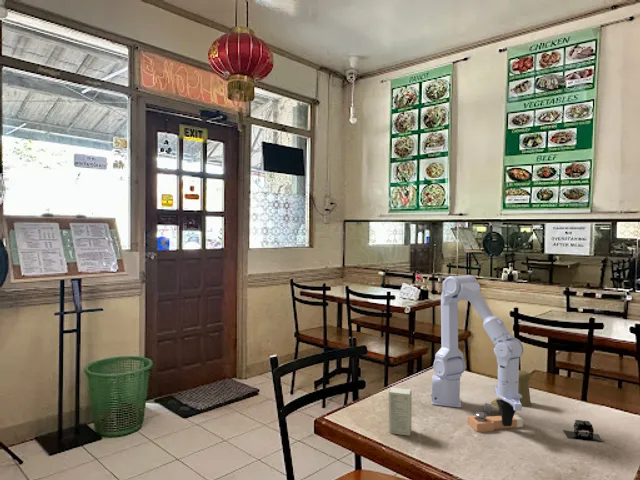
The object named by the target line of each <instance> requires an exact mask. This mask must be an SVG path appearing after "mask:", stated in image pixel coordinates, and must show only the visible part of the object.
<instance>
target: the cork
mask: <svg viewBox="0 0 640 480" xmlns="http://www.w3.org/2000/svg"><path fill="white" fill-rule="evenodd" d="M530 381H531V375H530V373H529V372H528V371H526V370H520V369H519V380H518V394H521V395H522V398H519V399H520V403H521V404H522V407H526V408H527V407H531V405H532V403H531V394H530V385H529V382H530Z"/></svg>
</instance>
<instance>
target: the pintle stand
mask: <svg viewBox="0 0 640 480" xmlns="http://www.w3.org/2000/svg"><path fill="white" fill-rule="evenodd" d="M496 400H501V399H500V398H498V397H496V399H494V400H492V401H491V402H490V403H486V402H485V403H484V404H483V411H482V412H481V411H476V412H475V413H474V416H476V417H477V421H478V422H484V418H486V417H488V416H487V415H491V414H492V412H493V411H492V410H493V409H492V408H493V407H496V408H498V414H500V415H501V412H500V409H499V406H498V404H497V402H496ZM492 406H493V407H492Z"/></svg>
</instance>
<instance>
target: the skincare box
mask: <svg viewBox="0 0 640 480" xmlns="http://www.w3.org/2000/svg"><path fill="white" fill-rule="evenodd" d="M412 410H413V409H412V388H404V387H395V386H391V387H390V388H389V390H388V433H390V434H397V435H402V436H411V433H412V417H413V415H412Z"/></svg>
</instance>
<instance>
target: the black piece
mask: <svg viewBox="0 0 640 480" xmlns="http://www.w3.org/2000/svg"><path fill="white" fill-rule="evenodd" d="M562 432H563V433H564V435H565V437H567V440H568V439H569V440H577V441H586V442H595V443H602V442H603V443H604V442H605V441H604V439H603V438H602V437H601V436H600V434H598V433H594V432H595V430H594V427H593V424H592V423H591V421H588V420H581V419H575V420H574V422H573V430H565V429H562ZM600 437H601V438H602V439H603V440H602V439H601V438H600Z"/></svg>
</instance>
